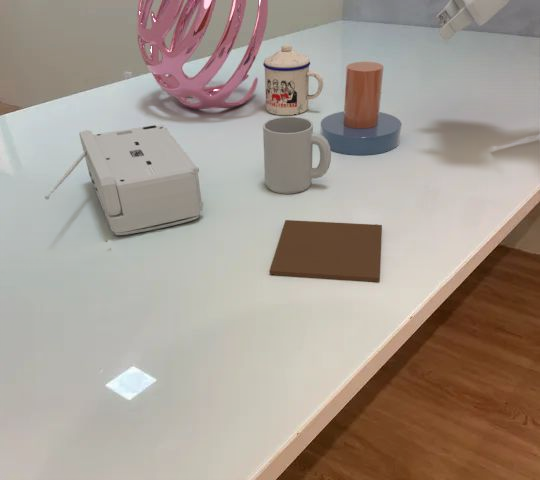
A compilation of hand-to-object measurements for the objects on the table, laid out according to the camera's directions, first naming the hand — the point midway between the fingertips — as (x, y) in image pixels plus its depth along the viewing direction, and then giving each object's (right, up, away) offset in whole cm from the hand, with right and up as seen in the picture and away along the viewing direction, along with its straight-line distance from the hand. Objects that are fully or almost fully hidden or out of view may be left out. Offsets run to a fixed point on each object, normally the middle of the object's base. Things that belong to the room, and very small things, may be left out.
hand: (439, 29), depth 86 cm
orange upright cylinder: (-10, -10, +11) cm, 18 cm away
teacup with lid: (-21, -1, +27) cm, 34 cm away
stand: (-10, -12, +13) cm, 21 cm away
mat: (-19, -37, -16) cm, 45 cm away
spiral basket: (-40, +3, +32) cm, 51 cm away
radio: (-39, -22, -4) cm, 45 cm away
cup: (-22, -24, 0) cm, 33 cm away
